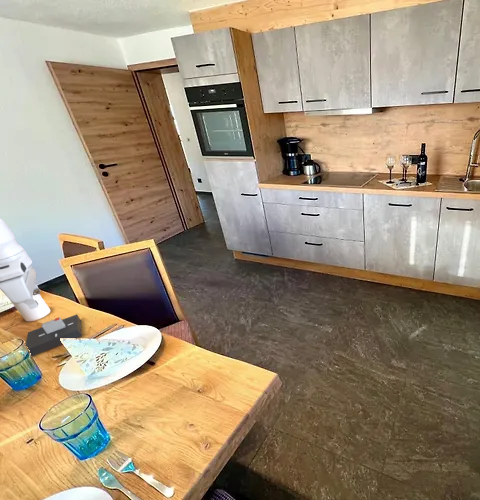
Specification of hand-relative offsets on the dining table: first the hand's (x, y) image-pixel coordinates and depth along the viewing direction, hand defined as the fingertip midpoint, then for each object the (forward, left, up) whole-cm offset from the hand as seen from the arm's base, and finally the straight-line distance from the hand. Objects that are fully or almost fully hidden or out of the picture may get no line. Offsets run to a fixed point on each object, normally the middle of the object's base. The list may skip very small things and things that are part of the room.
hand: (36, 300), depth 92 cm
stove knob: (0, 0, -13) cm, 13 cm away
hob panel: (-1, 0, -16) cm, 16 cm away
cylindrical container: (-7, +22, -16) cm, 28 cm away
